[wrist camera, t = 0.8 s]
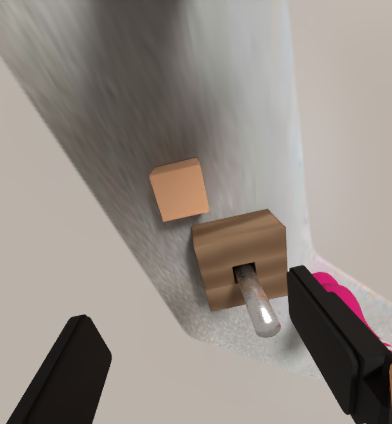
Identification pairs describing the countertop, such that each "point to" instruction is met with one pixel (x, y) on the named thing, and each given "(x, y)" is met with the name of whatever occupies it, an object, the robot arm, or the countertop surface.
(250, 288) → the post
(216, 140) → the countertop surface
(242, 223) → the post block
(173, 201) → the cardboard-colored cube
